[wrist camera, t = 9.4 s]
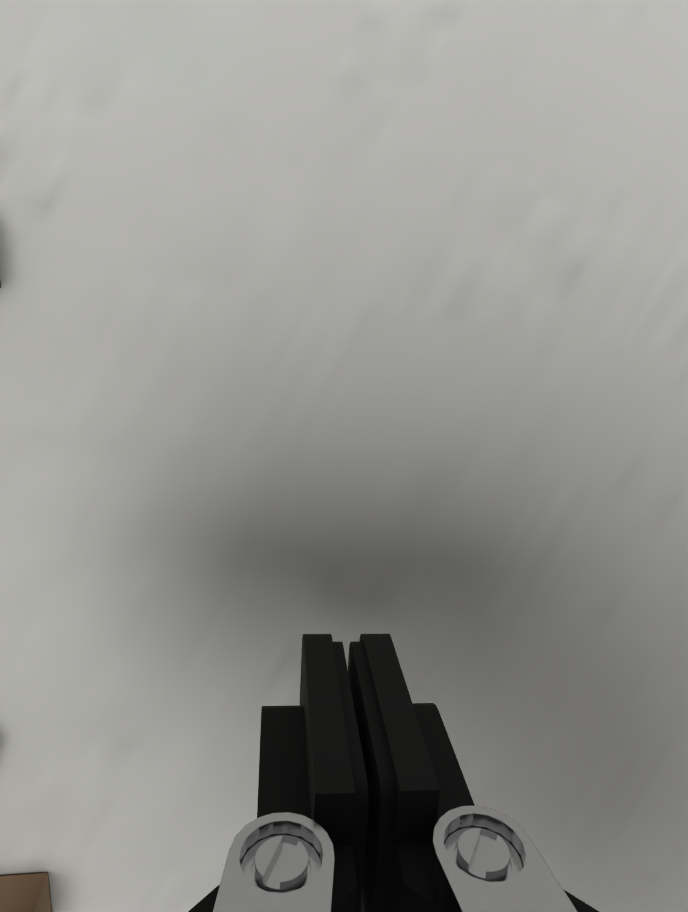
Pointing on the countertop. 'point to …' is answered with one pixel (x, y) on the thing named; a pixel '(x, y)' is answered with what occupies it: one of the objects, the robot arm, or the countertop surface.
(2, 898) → the walnut fence
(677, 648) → the countertop surface
